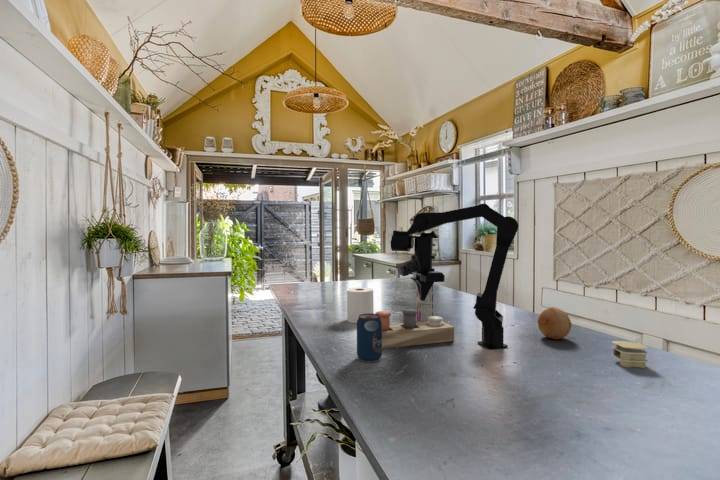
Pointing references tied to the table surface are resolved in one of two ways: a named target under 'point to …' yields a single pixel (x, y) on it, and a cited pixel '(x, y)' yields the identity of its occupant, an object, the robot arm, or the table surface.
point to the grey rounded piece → (409, 318)
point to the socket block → (416, 334)
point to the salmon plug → (384, 320)
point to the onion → (554, 323)
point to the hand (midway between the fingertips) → (422, 300)
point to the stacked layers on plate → (630, 354)
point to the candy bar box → (424, 305)
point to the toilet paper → (359, 303)
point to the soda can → (369, 337)
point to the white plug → (435, 320)
